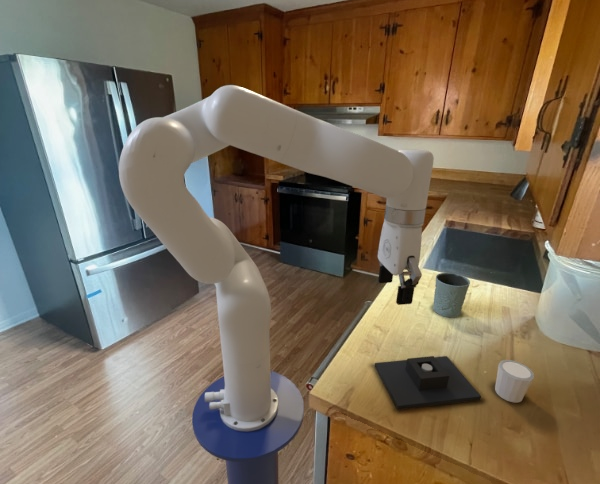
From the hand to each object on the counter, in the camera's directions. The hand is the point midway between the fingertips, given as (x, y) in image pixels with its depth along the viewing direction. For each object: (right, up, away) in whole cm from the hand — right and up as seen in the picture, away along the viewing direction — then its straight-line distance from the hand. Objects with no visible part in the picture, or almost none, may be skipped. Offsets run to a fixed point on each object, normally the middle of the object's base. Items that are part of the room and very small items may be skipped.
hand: (393, 292), depth 71 cm
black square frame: (+10, -22, +8) cm, 25 cm away
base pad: (+10, -23, +9) cm, 26 cm away
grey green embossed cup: (+29, -11, +40) cm, 50 cm away
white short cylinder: (+29, -24, +6) cm, 38 cm away
